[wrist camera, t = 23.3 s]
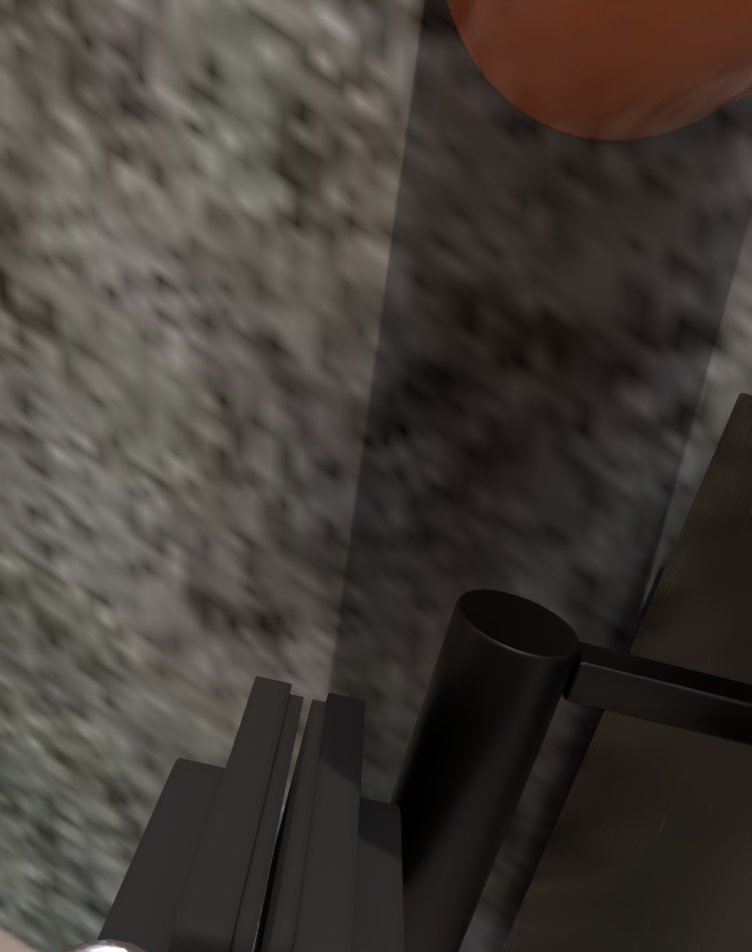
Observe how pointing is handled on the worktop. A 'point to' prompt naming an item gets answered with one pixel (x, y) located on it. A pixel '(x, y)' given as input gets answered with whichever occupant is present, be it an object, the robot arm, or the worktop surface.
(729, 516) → the drawer
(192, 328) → the worktop surface
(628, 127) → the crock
